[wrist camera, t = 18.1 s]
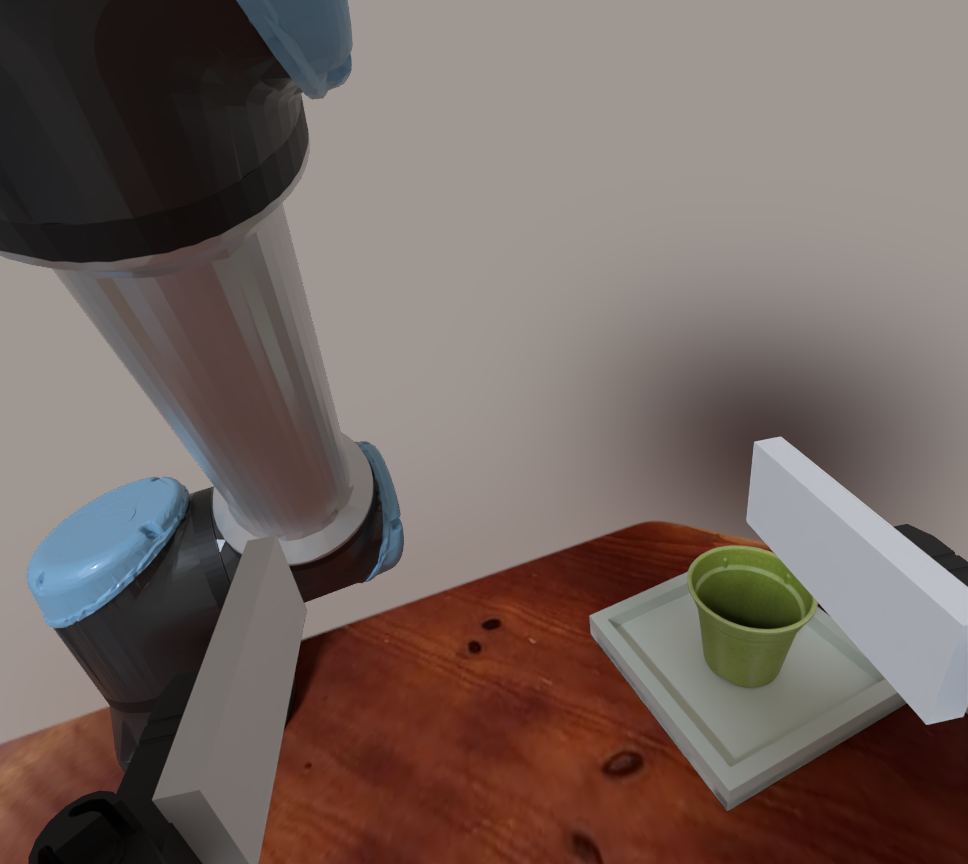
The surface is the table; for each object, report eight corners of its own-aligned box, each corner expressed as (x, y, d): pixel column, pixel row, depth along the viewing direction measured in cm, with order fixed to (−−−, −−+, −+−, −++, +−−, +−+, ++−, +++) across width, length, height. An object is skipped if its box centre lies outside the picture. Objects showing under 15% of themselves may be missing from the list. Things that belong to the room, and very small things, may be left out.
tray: (590, 634, 55) (589, 615, 54) (738, 566, 60) (740, 548, 59) (727, 811, 40) (729, 791, 39) (909, 702, 45) (916, 681, 44)
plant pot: (766, 609, 54) (776, 537, 50) (827, 697, 46) (845, 619, 41) (668, 625, 54) (670, 555, 50) (712, 716, 46) (718, 641, 41)
